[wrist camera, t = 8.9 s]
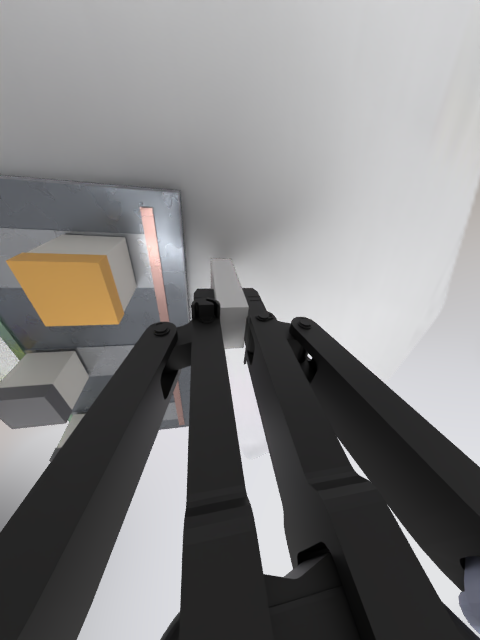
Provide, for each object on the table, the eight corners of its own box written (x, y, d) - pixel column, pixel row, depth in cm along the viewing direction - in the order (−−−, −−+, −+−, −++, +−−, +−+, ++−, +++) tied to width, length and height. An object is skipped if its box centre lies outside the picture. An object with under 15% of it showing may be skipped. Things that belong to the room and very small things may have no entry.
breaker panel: (-90, 167, 13) (-136, 167, 11) (180, 190, 15) (177, 193, 14) (90, 425, 31) (84, 440, 30) (196, 413, 34) (196, 426, 33)
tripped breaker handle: (60, 233, 14) (5, 260, 10) (125, 236, 15) (98, 262, 11) (82, 287, 16) (45, 326, 12) (137, 287, 17) (119, 324, 13)
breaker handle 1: (25, 352, 19) (-20, 402, 15) (75, 350, 20) (44, 396, 16) (46, 380, 22) (12, 429, 18) (89, 377, 22) (66, 423, 18)
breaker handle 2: (72, 414, 26) (49, 460, 22) (108, 410, 26) (92, 454, 22) (84, 430, 28) (65, 474, 24) (116, 426, 29) (103, 468, 25)
